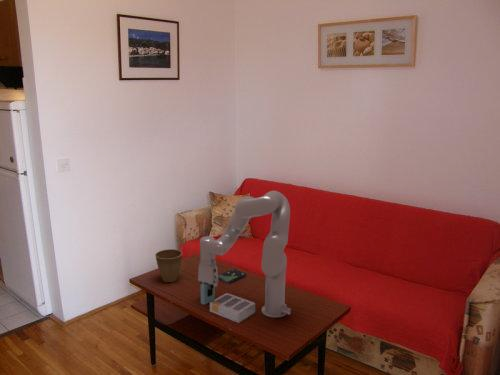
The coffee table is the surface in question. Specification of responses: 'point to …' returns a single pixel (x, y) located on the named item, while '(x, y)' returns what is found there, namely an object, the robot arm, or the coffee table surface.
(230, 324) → the coffee table surface
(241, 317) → the frame
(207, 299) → the panel
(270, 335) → the coffee table surface
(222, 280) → the disk drive
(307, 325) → the coffee table surface
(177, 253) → the plant pot
